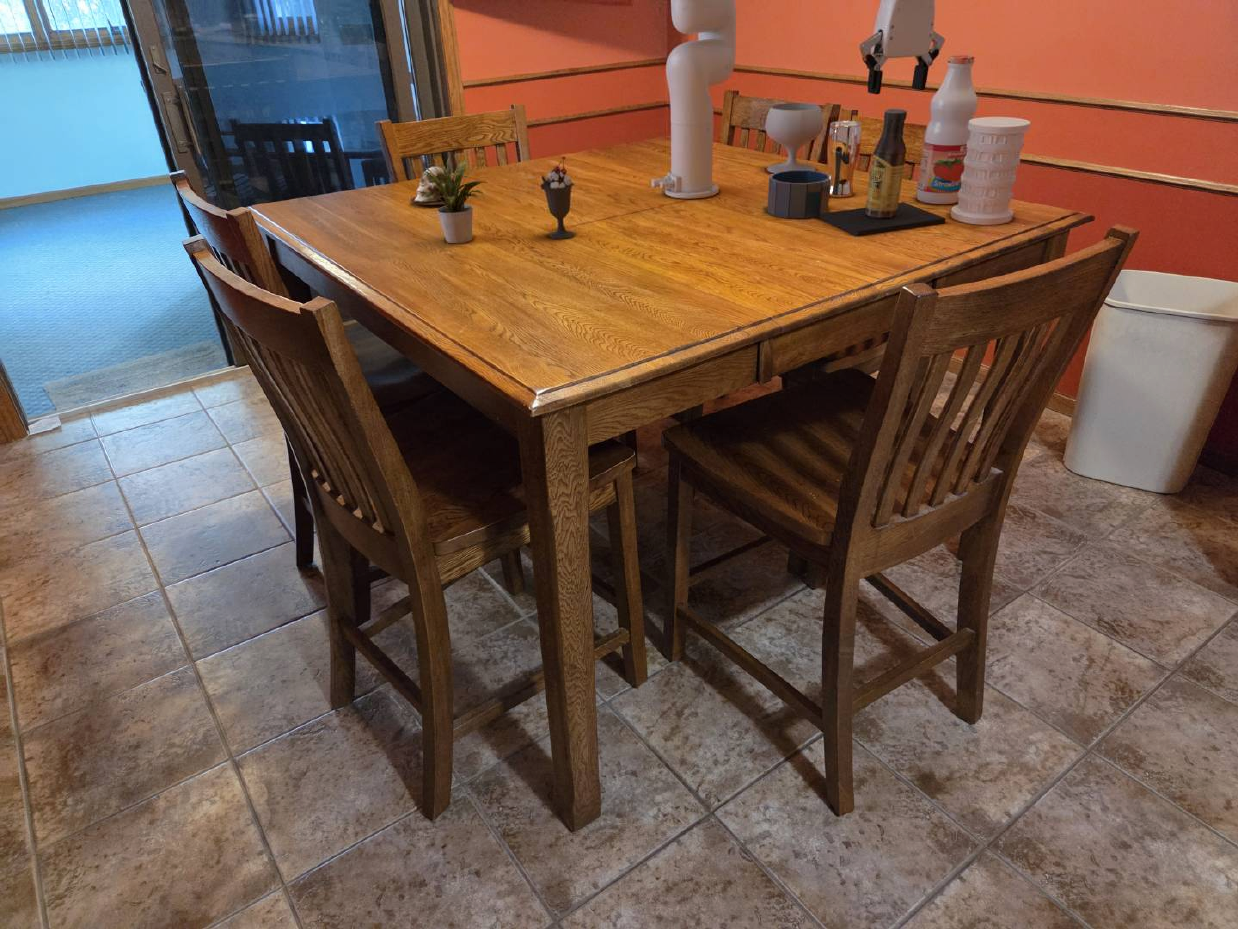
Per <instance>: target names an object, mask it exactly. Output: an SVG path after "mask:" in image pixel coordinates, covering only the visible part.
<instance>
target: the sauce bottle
mask: <svg viewBox="0 0 1238 929" xmlns="http://www.w3.org/2000/svg"><path fill="white" fill-rule="evenodd" d="M907 115H908V111H907V110H905V109H901V108H890V109H885V111H884V114H883V119H884V120H883V121H884V122H883V126H882V132H881V135H880V138H879V140H878V142H877V144H876V146H875V149H874V150H873V152H872V158H871V166H870V171H869V179H868V188H867V193H866V194H867V195H866V200H865V201H866V202H865V207H867V208H866V214H867V215H868V216H870V217H873V218H891V217H894V216H895V215H896V210H897V208H898V203H900V202H899V201H900V198H901V197H900V196H901V190H902V185H903V184H902V183H903V177H904V171H905V165H906V163H905V161H906V155H907V145H906V142H905V141H904V138H903V135H904V127H905V122H906V119H907Z"/></svg>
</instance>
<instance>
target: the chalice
mask: <svg viewBox="0 0 1238 929" xmlns="http://www.w3.org/2000/svg"><path fill="white" fill-rule="evenodd" d="M764 126H765V127H764V129H765V133H766V134H767V136H768V137H769V138H770V139H771V140H772V141H774V142H776V143H777V144H779V145H780V146H782V147H783V148H784V149H785V151H786V152H787V156H788V157H787V160H786V161H785V162H782V163H776V164H775V163H774V164H772V165H769V166H767V168H766V170H767V171H768V172H769V173H772V174H774V173H777V172H781V171H789V170H811V171H816V167H815V166H814V165H812V164H808V163H803V162H798V161H797V158H796V157H797V154H798V152H799V150H800V149H801V148H802V147H804V146H805V145H807V144H808V143H810V142H812V141H813V140H815V139H817V138H818V137H819V136H820V134H822V132H823V129H824V115H823V111H822V109H821V107H820V105H818V104H815V103H808V102H788V103H787V102H786V103H778V104H774V105H772V106H771V107H770V109H769V111H768V112H767V116H766V119H765V124H764Z"/></svg>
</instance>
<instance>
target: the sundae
mask: <svg viewBox="0 0 1238 929" xmlns="http://www.w3.org/2000/svg"><path fill="white" fill-rule="evenodd" d="M566 159H567V157H566V156H562V158H561V161H560V162H559V163H558V165H555V166H554V167H553V168H552V170H550V171H549V172H548V173H547V175H546V178H545V176H544V175H542V176H541V180H542V182H543V183H541V184H540V189H541V190H542V191H544V194H545V198H546V202H547V207H548V211H549V213H550V214H551V215H552V216H553V217H554V218H555V219H556V220H557V229H556V231H554V232H551V233H550V234H549V238H551V239H553V240H563V239H564V240H566V239H570V238H572V237H574V232H572V231H568V230H567V229H566V227H565V223H564V219H565V218H566V216H568V214H569V213H570V210H571V195H572V188H573V186H574V185H575V183H573V182H572V179H571V178H570V176H569V175H568V174H567V173H568V171H567V169H565V164H564V161H565V160H566ZM561 163H562V168H560V165H561Z"/></svg>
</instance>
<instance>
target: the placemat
mask: <svg viewBox="0 0 1238 929" xmlns="http://www.w3.org/2000/svg"><path fill="white" fill-rule="evenodd" d="M866 208H867V207H866V206H864V207H859V208H852V209H845V210H844V209H843V210H838V211H837V210H836V211H828V213H822V214H820V217H819V219H820V220H822V221H824V222H826V223H828V224H830V225H833V226H834V227H837V228H839V229H841V230H843V231H845V232H847V233H849V234H852V235H854V236H855V237H861V236H867V235H874V234H881V233H887V232H895V231H901V230H907V229H915V228H921V227H927V226H928V227H929V226H934V225H941V224H946V218H945V217H944V216H941V215H939V214H936V213H933V212H931V211H928V210H925V209H922V208H920V207H917V206H914V205H912V204H909V203H906V202H904V201H902V202H899V203H898V208H897V210H896V215H895V216H894V217H891V218H873V217H870V216H868V215H867V214H866Z"/></svg>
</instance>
